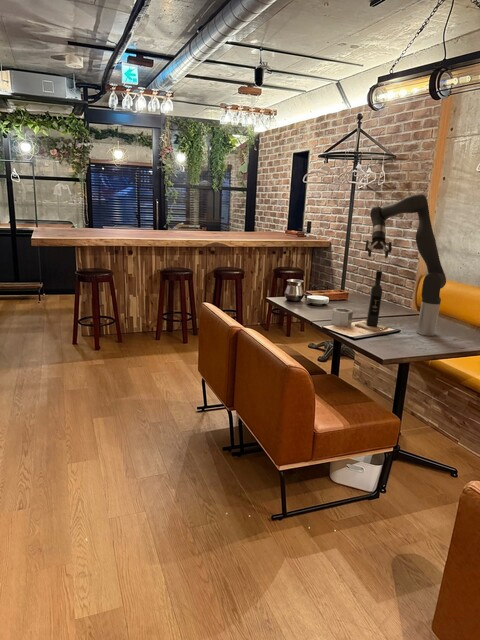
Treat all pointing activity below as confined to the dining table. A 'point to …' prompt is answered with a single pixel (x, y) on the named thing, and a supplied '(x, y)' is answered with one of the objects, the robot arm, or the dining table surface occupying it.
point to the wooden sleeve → (342, 317)
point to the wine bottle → (375, 301)
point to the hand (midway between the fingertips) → (378, 256)
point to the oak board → (371, 326)
